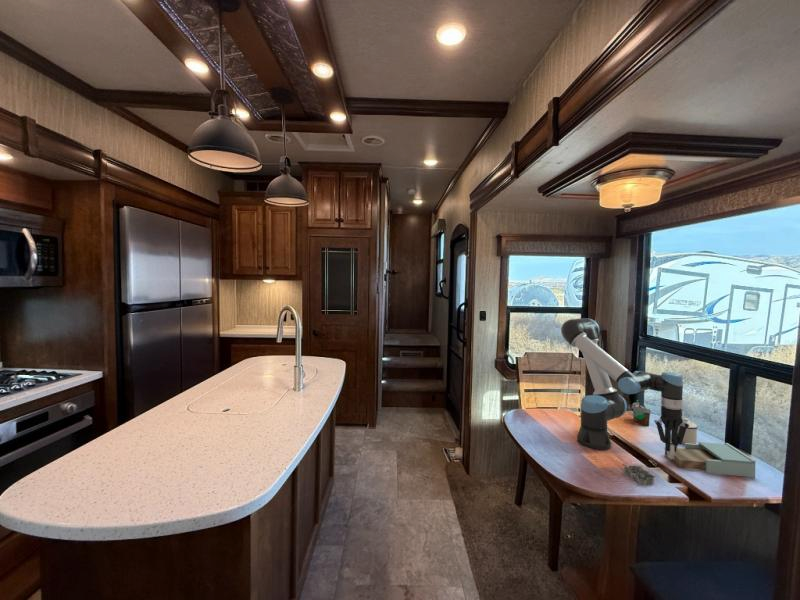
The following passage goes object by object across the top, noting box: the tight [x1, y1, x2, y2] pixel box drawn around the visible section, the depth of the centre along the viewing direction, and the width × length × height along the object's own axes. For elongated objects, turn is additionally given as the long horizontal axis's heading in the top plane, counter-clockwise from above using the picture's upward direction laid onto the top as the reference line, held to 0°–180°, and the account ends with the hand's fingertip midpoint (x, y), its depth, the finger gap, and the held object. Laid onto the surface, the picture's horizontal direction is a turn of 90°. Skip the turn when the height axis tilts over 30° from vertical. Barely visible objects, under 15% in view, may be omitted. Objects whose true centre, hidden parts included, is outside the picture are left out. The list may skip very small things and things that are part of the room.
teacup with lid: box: [677, 417, 699, 445], centre depth 175 cm, size 12×9×12 cm
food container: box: [631, 402, 652, 427], centre depth 197 cm, size 12×6×10 cm, turn 172°
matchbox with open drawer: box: [684, 441, 757, 478], centre depth 151 cm, size 17×16×7 cm
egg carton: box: [621, 463, 657, 486], centre depth 142 cm, size 11×8×4 cm
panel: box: [664, 447, 720, 472], centre depth 153 cm, size 18×12×4 cm, turn 77°
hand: (670, 457), depth 154 cm, fingers closed
